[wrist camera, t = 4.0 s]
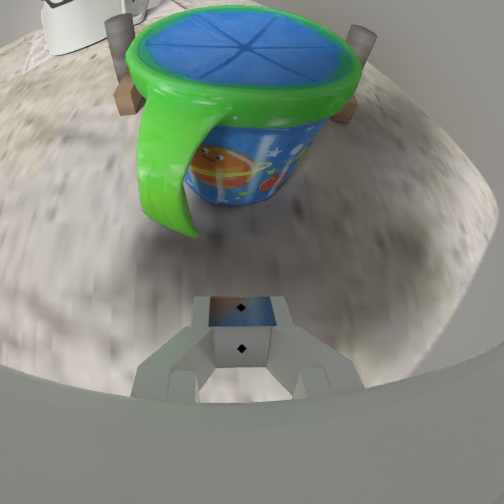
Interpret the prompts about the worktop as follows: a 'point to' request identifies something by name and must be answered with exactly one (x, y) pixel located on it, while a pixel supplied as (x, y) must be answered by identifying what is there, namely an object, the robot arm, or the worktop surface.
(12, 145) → the worktop surface
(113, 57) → the cradle
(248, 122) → the snack cup
